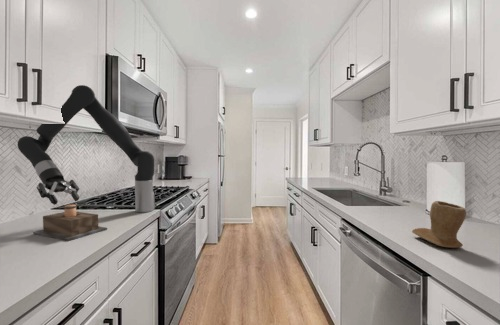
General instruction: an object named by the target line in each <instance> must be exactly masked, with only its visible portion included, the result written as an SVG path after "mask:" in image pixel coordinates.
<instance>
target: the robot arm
mask: <svg viewBox="0 0 500 325" xmlns="http://www.w3.org/2000/svg"><path fill="white" fill-rule="evenodd" d="M61 106H62V108H61V113H62V117H63V121H64V122H65V124H42V123H41V124H40V125H39V126H38V127H37V128H36V133H37V134H38V135H39V136H38V138H37V139H36V138H35V137H33V136H28V135H26V136H25V135H24V136H21V137H20V138H19V139H18V140H17V149H18V150H19V151H20V153H21V154H22V155H23V156H24V157H25V158H26V159H27V160H28V161H29V162H30V163H31V165H32V167H33V168H34V170H35V173H36V174H37V176H38V179H39V180H40V181H41V182H39V183H38V185H37V186H36V189H37V191H38V193H39V195H40V197H41V198H42V199H44V198H47V199H48V200H49V202H50V204H53V206H55V205H57V204H58V202H59V200H58V199H57V197H56V195H55V194H54V193H66V194H69V195H71V197H72V199H73V200H74V201H75V202H78V201H79V200H80V199H79V198H80V196H79V194H78V192H79V190H80V188H79V186H78V185H77V183H76V182H75V180H74V179H70V180H69V181H67V180H66V179H65V177H64V175H63V174H62V172H61V171H60V169H59V167H58V166H57V164H56V163H55V162H54V161H53V160H52V158H51V156H50V155H49V154H48V153H47V151H48V149H49V147H50V145H51V143H52V141H53V139H54V138H55V137H56V136H57V135H58V134H59V133H60V132H61V131H62V130H63V129H64V128H65V126H66V125H67V124H68V123H69V122H70V121H71V120H72V119H73V118H74V117H75V116H76V115H77V114H78V113H79V112H80V111H81V110H84V111H86V113H88V114H89V116H91V118H93V120H94V121H95V123H96V124H97V125H98V126H99V127H100V129H101V130H102V131H103V132H104V134H105V135H106V136H107V137H108V138H109V139H111V141H112V142H113V143H115V144H116V145H117V146H118V148H120V149H121V150H122V151H123V152H124V153H125V154H126V156H127V157H128V159H129V160H131V161H130V162H132V164H134V166H135V167H137V172H136V174H135V175H134V191H135V193H134V194H135V196H134V198H135V205H134V206H135V207H134V208H135V213H149V212H152V211H154V210H155V209H156V207H155V192H154V184H153V181H154V180H153V178H154V175H155V157H154V155H153V153H152V152H150V151H146V150H142V149H141V148H140V147H139V146H138V145H137V144H136V143H135V141H134V140H133V138H132V136H131V134H130V132H129V131H128V129H127V128H126V127H125V126H124V124H123V123H122V121H120V120H119V119H118V118H117V117H116V116H115V115H114V114H113V113H111V112H110V111H109V110H107V109H106V108H105V106H103V105H102V104H101V102H100V101H99V99H98V98H97V97H96V94H95V91H94V90H93V89H92V87H89V85H88V86H87V85H84V84H83V85H77V86H75V87H74V88H73V89H72V90H71V94H70V95H69V96H68V98H67V100H65V102H64V103H63V104H62V105H61ZM66 188H67V189H66ZM46 189H47V190H48V192H47V190H46Z"/></svg>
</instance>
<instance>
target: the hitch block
mask: <svg viewBox="0 0 500 325" xmlns="http://www.w3.org/2000/svg"><path fill="white" fill-rule="evenodd" d="M107 230H108V227H104V226H99V214H97V213H89V212H82V211H76V216H73V217H65V211H63V212H58V213H53V214H47V215H43V216H42V229H41V230H36V231H33V235H38V236H41V237H46V238H51V239H57V240H61V241H65V242H70V241H71V242H72V241H74V240H77V239H80V238H83V237H84V238H85V237H87V236H91V235H93V234H96V233H97V234H98V233H101V232H104V231H107Z"/></svg>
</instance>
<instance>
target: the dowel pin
mask: <svg viewBox="0 0 500 325" xmlns="http://www.w3.org/2000/svg"><path fill="white" fill-rule="evenodd" d="M63 208H64V211H63V212H65V217H73V216H76V212H77V205H76V204H66V205H64V207H63Z"/></svg>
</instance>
